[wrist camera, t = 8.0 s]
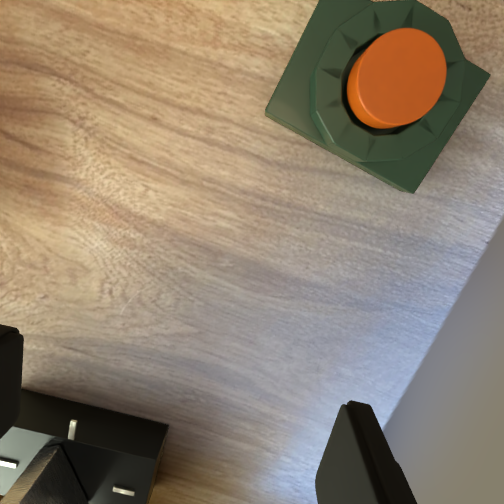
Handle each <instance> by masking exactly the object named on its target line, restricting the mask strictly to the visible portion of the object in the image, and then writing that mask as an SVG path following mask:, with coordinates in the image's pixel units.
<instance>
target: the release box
mask: <svg viewBox="0 0 504 504" xmlns="http://www.w3.org/2000/svg"><path fill="white" fill-rule="evenodd" d="M399 28H414V29H418V30H421V31H424V32H426V33H427V34H429V35H430V36H432V37H433V38H434V39H435V40H436V41H437V43H438V44H439V45H440V47H441V49H442V51H443V53H444V56H445V60H446V68H447V72H446V81H445V85H444V88H443V91H442V93H441V95H440V97H439V99H438V101H437V102H436V104H435V105H434V106H433V107H432V109H431V110H430V111H429V112H428V113H426V114H425V115H424V116H423V117H421V118H420V119H418V120H416V121H414V122H411V123H409V124H405V125H401V126H397V127H393V128H388V129H378V128H373V127H370V126H368V125H366V124H364V123H363V122H361V121H360V120H359V119H358V118H357V117H356V116H355V115H354V113H353V111H352V110H351V108H350V105H349V102H348V98H347V82H348V77H349V74H350V71H351V69H352V67H353V65H354V63H355V62H356V60H357V59H358V58H359V57H360V56H361V55H362V53H363V52H364V51H365V50H366V49H367V48H368V47H369V46H370V45H371V44H372V43H373V42H374V41H375V40H376V39H377V38H379V37H380V36H382V35H383V34H385V33H387V32H389V31H392V30H395V29H399ZM489 77H490V74H489V73H487V72H486V71H484V70H483V69H481V68H479V67H478V66H476V65H474V64H473V63H471V62H470V61H468V60H466V59H465V57H464V54H463V52H462V50H461V48H460V45H459V43H458V41H457V38H456V36H455V34H454V31H453V29H452V27H451V24H450V23H449V20H447V19H445V18H444V17H442V16H441V15H439V14H437V13H436V12H434V11H433V10H431V9H430V8H428V7H426V6H425V5H423V4H422V3H420V2H418V1H417V0H397V1H381V2H372V1H371V0H319V2H318V4H317V6H316V8H315V10H314V12H313V14H312V16H311V18H310V20H309V22H308V24H307V26H306V28H305V30H304V32H303V34H302V36H301V38H300V41H299V43H298V45H297V47H296V49H295V51H294V53H293V55H292V57H291V59H290V61H289V63H288V65H287V67H286V69H285V71H284V73H283V75H282V77H281V79H280V81H279V83H278V85H277V87H276V89H275V91H274V93H273V95H272V97H271V99H270V101H269V103H268V105H267V107H266V109H265V115H266V116H267V117H269V118H271V119H272V120H274V121H276V122H278V123H280V124H281V125H283V126H285V127H287V128H289V129H290V130H292V131H294V132H296V133H297V134H299V135H301V136H303V137H305V138H306V139H308V140H310V141H312V142H314V143H315V144H317V145H319V146H321V147H323V148H324V149H326V150H328V151H330V152H332V153H333V154H335V155H337V156H339V157H341V158H342V159H344V160H346V161H348V162H349V163H351V164H353V165H355V166H357V167H358V168H360V169H362V170H364V171H366V172H367V173H369V174H371V175H373V176H375V177H376V178H378V179H380V180H382V181H384V182H385V183H387V184H389V185H391V186H393V187H394V188H396V189H398V190H400V191H403V192H407V193H412V194H414V193H415V191H416V189H417V188H418V186H419V185H420V183H421V182H422V180H423V179H424V177H425V176H426V174H427V173H428V171H429V169H430V168H431V166H432V165H433V163H434V162H435V160H436V159H437V157H438V156H439V154H440V153H441V151H442V150H443V148H444V146H445V145H446V143H447V142H448V140H449V139H450V137H451V136H452V134H453V133H454V131H455V130H456V128H457V126H458V125H459V123H460V122H461V120H462V119H463V117H464V116H465V114H466V113H467V111H468V110H469V108H470V106H471V105H472V103H473V102H474V100H475V99H476V97H477V96H478V94H479V93H480V91H481V90H482V88H483V86H484V85H485V83H486V82H487V80H488V79H489Z"/></svg>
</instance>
